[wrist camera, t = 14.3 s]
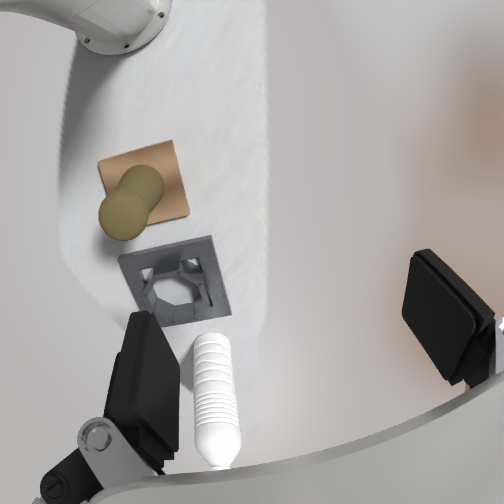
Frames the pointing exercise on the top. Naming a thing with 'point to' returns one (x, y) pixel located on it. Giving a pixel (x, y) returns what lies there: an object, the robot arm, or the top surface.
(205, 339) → the water bottle
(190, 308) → the grey octagonal holder
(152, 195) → the cork
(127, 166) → the coaster board
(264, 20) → the top surface
